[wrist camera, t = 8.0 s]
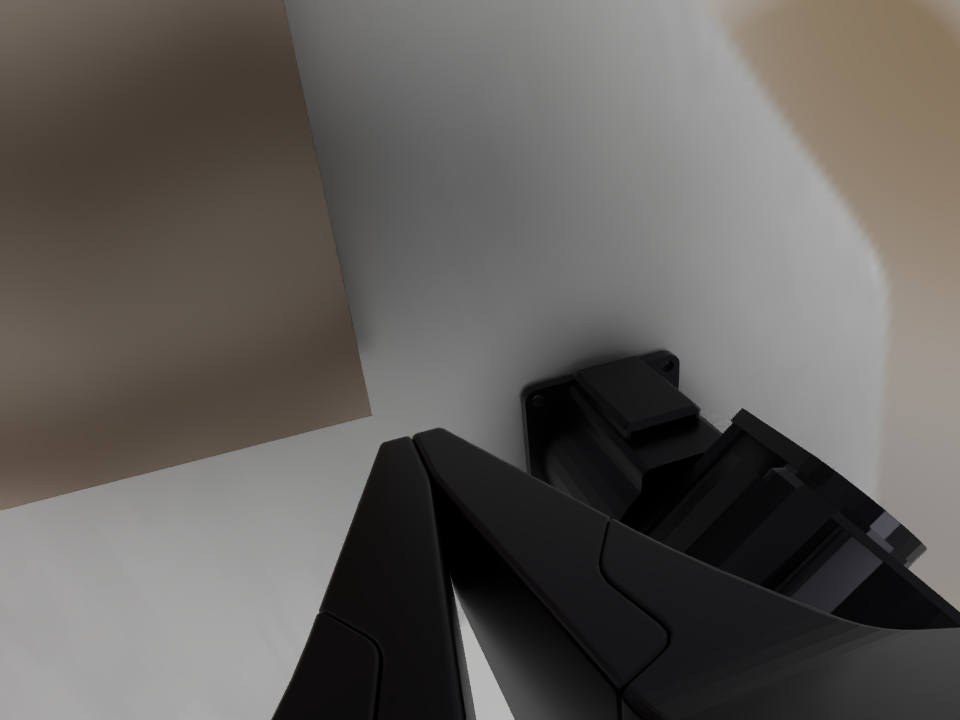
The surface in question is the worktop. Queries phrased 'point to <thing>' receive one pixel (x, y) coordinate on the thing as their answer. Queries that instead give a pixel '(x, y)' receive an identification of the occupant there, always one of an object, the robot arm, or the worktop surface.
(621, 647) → the robot arm
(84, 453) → the deck
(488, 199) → the worktop surface
